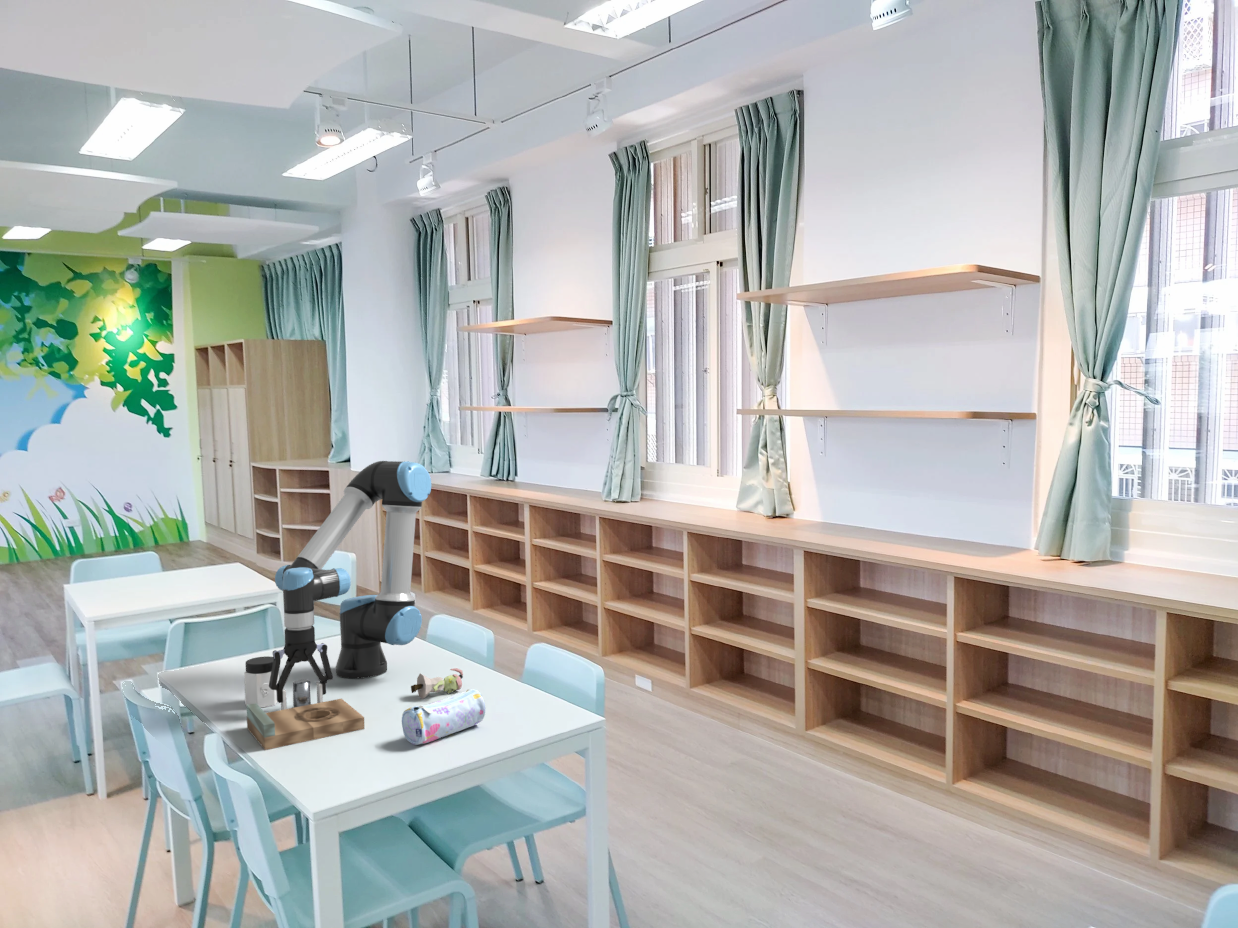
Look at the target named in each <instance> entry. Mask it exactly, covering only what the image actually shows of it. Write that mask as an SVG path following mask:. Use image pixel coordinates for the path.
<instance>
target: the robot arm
mask: <svg viewBox="0 0 1238 928" xmlns="http://www.w3.org/2000/svg"><path fill="white" fill-rule="evenodd" d="M431 478H432V477H431V475H430V473H429V471H428V470H427V469H426V468H425V466H424V465H423V464H421V463H419V462H413V461H396V460H395V461H394V460H393V461H389V460H388V461H387V460H380V461H375V462H373V463H371V464H368V465H367V466H365V467H364V468H363V469H362V470H360V472H358V473H357V474H356V475H355V476H354V477H353V478H352V479H351V480H350V482H349V483H348V484H347V485H346V487H345V488H344V490H343V494H344V495H343V496H342V498H340V500H339V501H338V503H337V504H336V506H335V507H334V508H333V510H332V511H331V512H330V513H329V514H328V516H327V517H326V519H325V520H324V521H323V522H322V524H321V525H320V526H319V528H318V529H317V531H316V532H315V533H314V534H313V535H312V537H311V538H310V539H309V540H308V542H307V543H306V545H305V546H304V548H303V549H302V550H301V551H300V553H299V554H298V555H297V556H296V558H295V560H294V561H292V563H291V564H285V565H282V566H281V567H279V568H278V569H277V571H276V572H275V574H274V575H275V576H274V583H275V585H276V587H277V589H278V590H280V591H282V592H283V593H282V597H283V614H284V615H283V620H284V625H283V627H285V629H284V647H283V649H279V650H273V651H272V657H273V659H274V660H273V666H272V671H271V676H270V682H269V687H270V688H271V689H272V690H276V691H277V701H278V702H277V703H278V704H280V710H284V709H288V708H287V690H286V689H285V688H284V687H285V685H286V683H287V681H288V678H289V676H290V674H291V672H292V669H293V667H295V664H297V663H301V662H305V663H306V662H308V663H309V665H310V667H311V669H312V670H313V672H314V674H315V675H316V678H317V679H318V680H319V681H317V682H316V683H315V684H316V703H321V702H324V699H323V698H324V697H323V696H324V695H326V694H327V683H328V681H331V680H333V678H334V676H333V673H332V668H331V664H330V661H329V658H328V645H327V644H325V643H324V642H322V643H320V644H319V643H316V639H315V638H316V637H315V636H316V635H315V634H316V633H315V630H316V629H315V626H314V625H315V602H317V601H322V600H326V599H331V598H337V597H339V596H342V595H345V594H346V593H348V592H349V590H350V588H351V585H352V584H351V582H352V581H351V576H350V574H349V572H348V571H347V569H344V568H341V567H340V568H331V569H323V568H324V566H325V565H326V564H327V563H328V561H329V560H330V558H331V557H332V555H333V554H334V553H335V552H336V550H338V547H340V545H341V543H342V542H343V541H344V539H345V538H346V537H347V535H348V534H349V533H350V532H351V530H352V529H353V527H354V526H355V525H356V523H357V522H358V521H359V520H360V518H361V517H362V515H363V514H364V512H365V511H366V510H370V509H371V508H372V507H373V506H374V504H376V502H378V501H381V507H382V508H384V510H385V511H386V515H385V528H384V542H383V543H384V545H383V557H382V570H381V572H382V573H381V583H380V585H381V586H380V592H379V593H378V594H367V595H360V596H355V597H348V598H346V599H343V600H342V601H341V603H340V605H339V626H340V628H339V629H340V630H339V631H340V645H341V646H340V650H339V654H338V659H337V661H336V665H335V675H336V676H337V677H339V678H342V679H343V678H344V679H350V680H351V679H352V680H353V679H355V680H357V679H367V678H373V677H377V676H380V675H382V674H384V673H386V672H387V671H388V662H387V658H386V656H385V652H384V650H383V648H382V643H384V644H387V645H390V646H405V645H407V644H410V643H411V642H413V640H414V639H415V638H416V637H417V636H418V634H419V633H420V630H421V628H422V623H423V619H422V618H423V617H422V613H421V611H420V610H419V609H418V608H417V607H416V605H415V604H416V598H415V597H414V596H413V595H412V593H411V589H412V587H411V585H412V575H413V561H414V560H413V559H414V543H415V535H416V534H415V533H416V532H415V530H416V517H417V512H418V511H419V510H422V508H423V506H422V505H423V502H424V501H425V500H427V498H428V497H429V496H430V494H431V491H432V479H431ZM316 650H317V652H318V653H319V655H320V659H321V664H322V667H323V671H324V674H325V675H324V674H323V672H322V670H321V668H320V667H319V665H318V664H317V662H316V660H315V658H314V656H313V655H314V653H315V652H316ZM284 655H285V656H286V657H287V659H286V661H285V665H284V667H283V670H282V672H281V674H280V667H281V663H282V662H281V660H282V658H283V657H284ZM278 673H279V674H280V675H279V681H278V683H277V679H278Z"/></svg>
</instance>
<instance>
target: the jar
mask: <svg viewBox="0 0 1238 928" xmlns="http://www.w3.org/2000/svg"><path fill="white" fill-rule="evenodd" d="M273 660H274V659H273V656H269V655H268V656H258V657H252V658H249V659H247V660H246V661H245V671H244V675H243V676H244V700H245V701H244V704H245V707H247V705H249V704H255V703H257V704H258V705H259V707H260V708H261V709H263V708H269V707H273V706H276V704H278V703H279V702H278V701H277V691H276V690H272V689H271V688H270V687H269V682H270V676H271V671H272V666H273ZM279 678H280V672H279V673H278V679H277V683H278V681H279Z"/></svg>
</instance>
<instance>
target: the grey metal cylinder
mask: <svg viewBox="0 0 1238 928" xmlns="http://www.w3.org/2000/svg"><path fill="white" fill-rule="evenodd" d="M311 702H312V701H311V680H310V679H307V678H305V679H296V680H293V681H292V705H293V706H292V708H295V707H300V706H305V705H310V704H312V703H311Z"/></svg>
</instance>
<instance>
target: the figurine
mask: <svg viewBox="0 0 1238 928" xmlns="http://www.w3.org/2000/svg"><path fill="white" fill-rule="evenodd" d="M449 671H454V672H457V673H459V675H458V674H457V673H456V674H454V673H452V674H450V675H448V676H445V677H444V678H443V677H439V676H436V677H432V678H431V677H427V676H426V675H425V674H423V673H418V676H417V678H416V684H413V685H410V691H411V694H414V693H416V692H417V694H418V697H419V698H421V700H424V699H426V698H427V697H428V695H429V694H431V693H440V692H441V691H442V692H444V693H445V692H446V693H449V694H451V693H454V692H455V691H459V690H460V689H461V688H462V686H463V682H462V679H463V678H464V673H463V670H462V669H460V668H456V667H454V668H450V669H449Z"/></svg>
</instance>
